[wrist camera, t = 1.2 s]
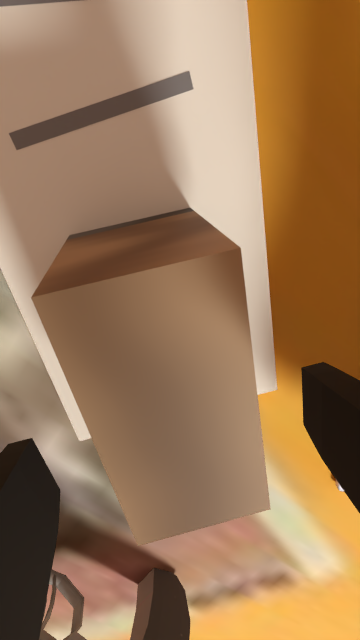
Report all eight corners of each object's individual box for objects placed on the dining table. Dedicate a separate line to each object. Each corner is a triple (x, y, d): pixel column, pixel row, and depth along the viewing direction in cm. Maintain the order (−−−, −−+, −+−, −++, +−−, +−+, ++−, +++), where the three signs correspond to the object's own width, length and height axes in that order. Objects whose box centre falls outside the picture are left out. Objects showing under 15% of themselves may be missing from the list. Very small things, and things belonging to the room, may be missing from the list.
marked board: (182, -508, 8) (196, -653, 6) (265, 372, 18) (277, 389, 17) (-295, -452, 7) (-395, -596, 6) (82, 419, 18) (79, 441, 17)
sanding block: (190, 207, 13) (240, 247, 7) (222, 395, 17) (270, 509, 11) (69, 235, 12) (31, 297, 7) (132, 419, 17) (138, 545, 11)
